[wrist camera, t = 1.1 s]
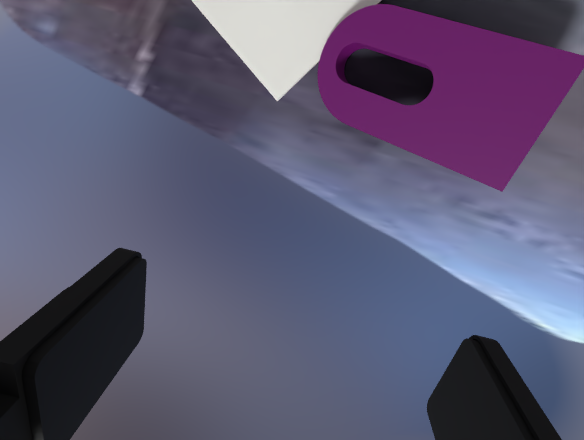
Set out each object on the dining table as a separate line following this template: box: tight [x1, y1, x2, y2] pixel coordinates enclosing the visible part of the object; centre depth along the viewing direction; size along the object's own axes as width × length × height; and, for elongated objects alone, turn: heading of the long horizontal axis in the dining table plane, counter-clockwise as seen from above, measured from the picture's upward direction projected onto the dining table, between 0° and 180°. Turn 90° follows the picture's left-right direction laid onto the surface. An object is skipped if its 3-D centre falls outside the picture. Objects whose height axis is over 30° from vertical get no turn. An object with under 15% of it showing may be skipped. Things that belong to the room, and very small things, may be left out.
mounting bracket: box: [318, 4, 584, 191], centre depth 29 cm, size 9×8×18 cm
